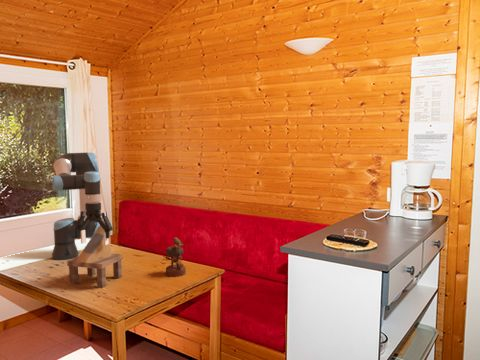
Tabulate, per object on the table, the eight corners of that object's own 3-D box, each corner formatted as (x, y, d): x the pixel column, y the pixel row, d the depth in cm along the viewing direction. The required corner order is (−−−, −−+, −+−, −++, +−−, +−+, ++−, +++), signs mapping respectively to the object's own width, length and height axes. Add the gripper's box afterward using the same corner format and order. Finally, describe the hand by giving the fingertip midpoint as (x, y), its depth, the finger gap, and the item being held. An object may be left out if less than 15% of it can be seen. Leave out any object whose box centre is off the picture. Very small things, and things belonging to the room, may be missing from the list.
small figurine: (192, 273, 225) (189, 237, 221) (178, 280, 216) (174, 243, 213) (172, 268, 234) (169, 233, 230) (157, 274, 225) (154, 239, 222)
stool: (68, 284, 208) (67, 261, 207) (90, 273, 226) (89, 251, 224) (102, 288, 203) (101, 264, 202) (123, 276, 220) (122, 254, 219)
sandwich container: (75, 260, 208) (73, 230, 207) (100, 253, 221) (99, 225, 219) (85, 263, 203) (84, 233, 202) (111, 255, 216) (110, 227, 215)
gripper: (67, 202, 210) (69, 243, 212) (110, 204, 203) (111, 247, 205) (77, 200, 217) (78, 240, 219) (118, 202, 210) (120, 243, 212)
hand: (94, 243), depth 212 cm, fingers open, 13 cm apart
